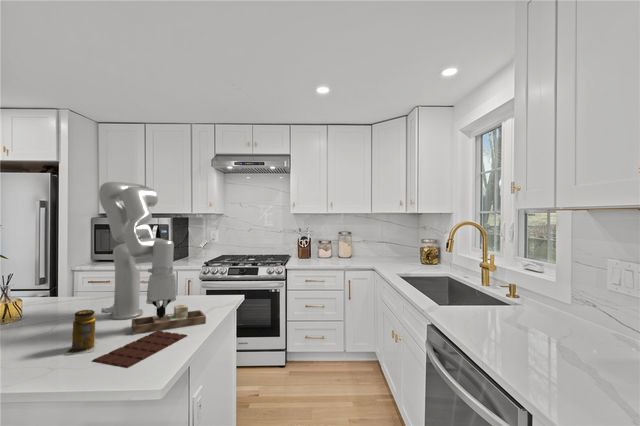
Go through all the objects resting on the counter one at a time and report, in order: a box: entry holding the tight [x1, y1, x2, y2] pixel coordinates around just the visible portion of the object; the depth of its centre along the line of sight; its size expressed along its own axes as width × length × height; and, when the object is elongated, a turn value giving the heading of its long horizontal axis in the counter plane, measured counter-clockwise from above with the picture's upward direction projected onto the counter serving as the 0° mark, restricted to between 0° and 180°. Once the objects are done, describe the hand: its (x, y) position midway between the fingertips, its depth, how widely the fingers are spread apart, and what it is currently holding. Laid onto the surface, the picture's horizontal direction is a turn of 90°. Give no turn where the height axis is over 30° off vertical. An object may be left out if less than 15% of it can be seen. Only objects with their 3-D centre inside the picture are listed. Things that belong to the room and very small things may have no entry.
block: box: [173, 304, 189, 319], centre depth 134 cm, size 4×4×4 cm
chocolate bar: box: [91, 330, 188, 369], centre depth 110 cm, size 27×14×1 cm, turn 165°
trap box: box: [131, 309, 207, 335], centre depth 132 cm, size 26×10×3 cm, turn 123°
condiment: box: [65, 309, 98, 355], centre depth 107 cm, size 7×8×12 cm
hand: (160, 316), depth 130 cm, fingers closed
